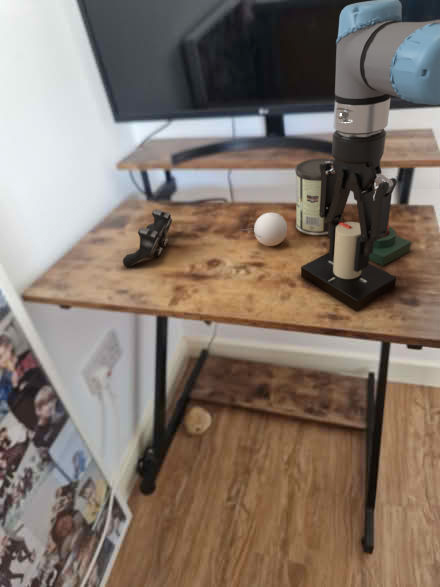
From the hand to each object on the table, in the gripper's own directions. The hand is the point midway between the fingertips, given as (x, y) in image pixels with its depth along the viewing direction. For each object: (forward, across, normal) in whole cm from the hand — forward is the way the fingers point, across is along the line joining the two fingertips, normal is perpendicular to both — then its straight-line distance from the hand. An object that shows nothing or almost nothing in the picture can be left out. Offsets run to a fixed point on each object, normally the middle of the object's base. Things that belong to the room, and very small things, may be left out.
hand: (347, 261), depth 73 cm
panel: (+5, 0, 0) cm, 5 cm away
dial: (+2, 0, 0) cm, 2 cm away
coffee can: (+5, -20, +12) cm, 24 cm away
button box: (+5, -4, +13) cm, 14 cm away
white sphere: (+5, -22, -2) cm, 23 cm away
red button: (+1, -4, +13) cm, 14 cm away
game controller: (+5, -38, -23) cm, 45 cm away
